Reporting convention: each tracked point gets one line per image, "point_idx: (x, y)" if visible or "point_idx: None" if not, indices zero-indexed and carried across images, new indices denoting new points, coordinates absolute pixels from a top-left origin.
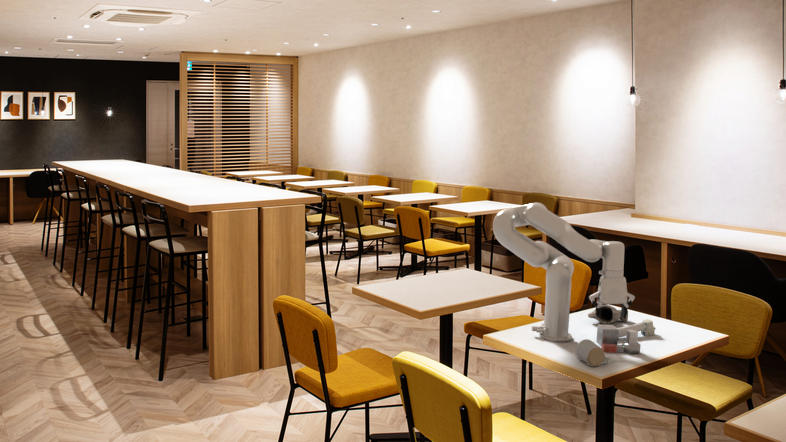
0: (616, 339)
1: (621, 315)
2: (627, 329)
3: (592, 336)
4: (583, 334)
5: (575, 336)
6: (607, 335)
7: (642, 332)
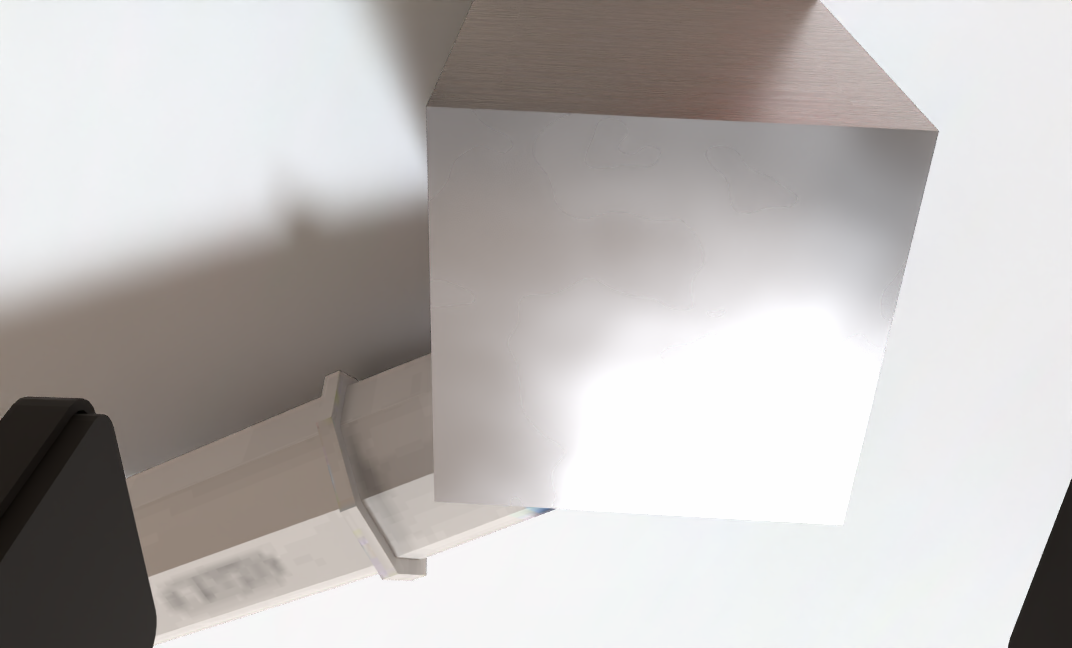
0: (500, 24)
1: (144, 626)
2: None
3: (696, 536)
4: (800, 614)
5: (995, 539)
6: (749, 65)
7: None
